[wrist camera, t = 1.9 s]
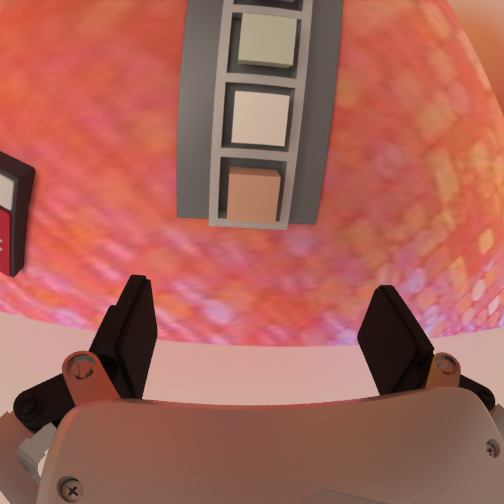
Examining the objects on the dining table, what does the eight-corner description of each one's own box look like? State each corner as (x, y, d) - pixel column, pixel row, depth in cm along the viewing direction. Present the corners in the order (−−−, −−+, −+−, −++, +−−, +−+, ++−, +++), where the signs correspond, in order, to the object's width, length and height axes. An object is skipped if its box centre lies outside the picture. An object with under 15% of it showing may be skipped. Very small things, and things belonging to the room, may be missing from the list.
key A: (241, 21, 18) (242, 12, 16) (290, 26, 18) (296, 19, 16) (237, 63, 20) (237, 59, 18) (287, 68, 20) (292, 65, 18)
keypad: (196, -40, 16) (192, -53, 14) (340, -24, 17) (351, -34, 15) (178, 214, 29) (173, 226, 27) (313, 221, 31) (320, 234, 28)
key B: (229, 166, 24) (229, 173, 22) (276, 169, 25) (280, 177, 23) (227, 210, 26) (226, 221, 24) (271, 212, 27) (275, 223, 24)
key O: (235, 91, 21) (235, 90, 19) (284, 96, 22) (289, 95, 19) (231, 138, 23) (231, 142, 21) (279, 141, 24) (284, 146, 21)
